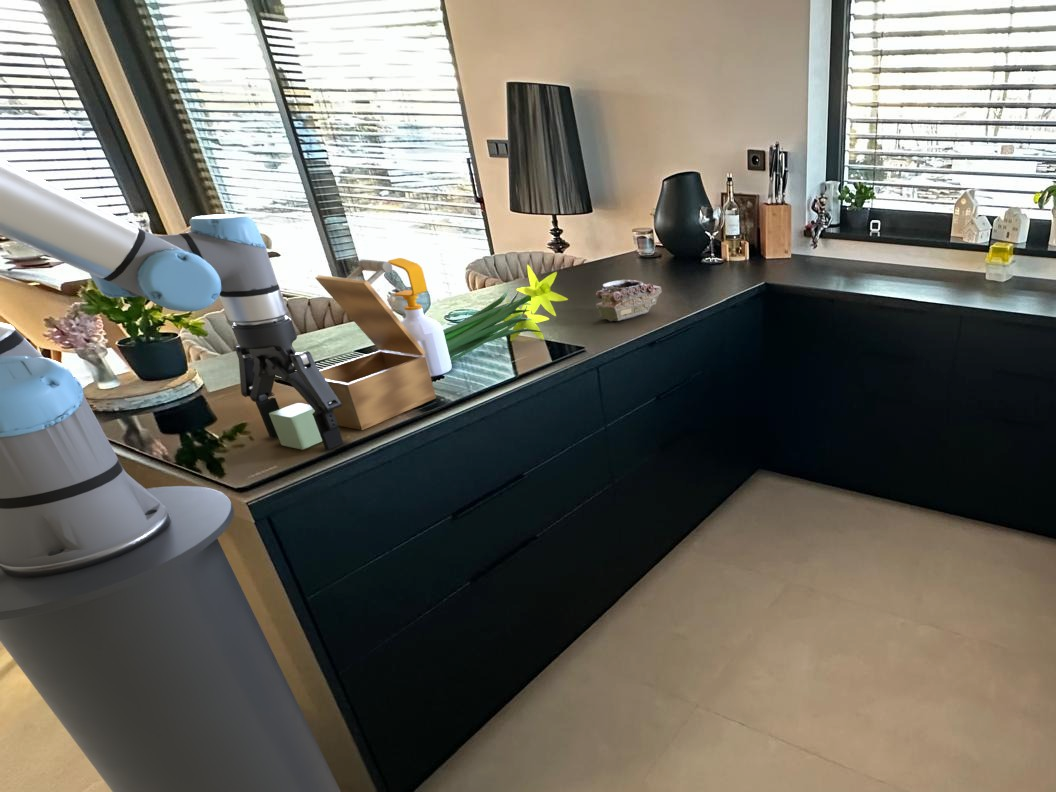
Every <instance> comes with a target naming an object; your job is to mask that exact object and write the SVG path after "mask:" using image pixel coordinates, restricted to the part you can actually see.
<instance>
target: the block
mask: <svg viewBox="0 0 1056 792" xmlns="http://www.w3.org/2000/svg"><path fill="white" fill-rule="evenodd" d="M314 412H315V410H314V409H313V408H312V407H311V406H310V405H309V404H308V403H304V402H303V403H302V402H297V403H294V404H290V405H288V406H285V407H282V408H279V410H277V411H274V412H271V413H269V415H270V418H271V420H272V423H273V425H274V428H275V430H276V433H277V435H278V436H277V437H278V440H279V442H280V443H279V444H280V445H281V446H283V447H288V448H294V449H298V450H302V451H303V450H305V449H308V448H310V447H313V446H315V445H317V444H320V443H323V441H322V438H321V436H320V433H319V430H318V428H317V425H316V422H315V419H314V417H313V415H312V414H313V413H314Z"/></svg>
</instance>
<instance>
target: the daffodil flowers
mask: <svg viewBox="0 0 1056 792" xmlns="http://www.w3.org/2000/svg"><path fill="white" fill-rule="evenodd" d="M526 267H527V269H526V270H527V277H528V281H529V285H530V286H522V287H518V288H516V291H517V292H515V295H514V296H513V298H512V299H511V300H508V299H507V300H506V303H505V304H502V303H503V302H504V301H505V299H506V297H507V296H508V293H509V290H510V289H509V288H508V289H507V290H506V291H505V292H504V293H503V295H501V296H500V297H499V298H498V299H496V300H495V301H493V302H492V303H490V304H488V305H487V306H485V307H484V308H482V309H481V310H479V311H477V312H475V313H473V314H472V315H470V316H469V317H467V318H465V319H463V320H462V321H460V322H458V323H456V324H453V325H451V326H448V327H446V328H443V332H444V336H445V340H446V344H447V348H448V352H449V356H450V360H451V363H452V362H453V361H455V360H457V359H459V358H461V357H463V356H465V355H467V354H468V353H470V352H473V351H474V350H476V349H477V348H479V347H481V346H483V345H484V344H487V343H490V342H493V341H495V340H499V339H501V338H504V337H508V336H510V337H509V342H513V341H514V340H515V339H516V338H517V337H518V336H519V335H520V334H521V333H523V332H531V333H532V334H533V335H535V336H536V337H538V338H540V339H541V340H545V337H544V334H543V331H542V330H541V329H540V327H539V326H538V325H537V324H538V323H543V322H545V321H549V320H550V318H549V317H548V316H545V315H542V314H536V312H537V311H538V309H539V307H540V306H542V307H543V309H544V310H545V311H546V312H547V313H549V314H550V315H552V316H554V317H557V314H556V311H555V309H554V306H553V305H552V302H565V301H568V300H569V298H567V297H566V296H564V295H562V294H560V293H557V292H555V291H553V290H551V287H552V285H553V284H554V282H555V279H556V277H557V274H558V271H555V272H552V273H551V274H548V276H546V277H545V278H543V279H542V280H540V281H539V279H538V277H537V275H536V274H535V272H534V270H533V269H532V267H531V266H530V265H529V264H528V263H527V264H526ZM519 293H521V294H522V295H521V296H520V298H519V299H517V300H516V298H517V296H518V294H519ZM523 294H524V295H526V296H524V295H523ZM501 304H502V305H501ZM520 306H521V308H520Z"/></svg>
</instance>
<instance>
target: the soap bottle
mask: <svg viewBox="0 0 1056 792" xmlns="http://www.w3.org/2000/svg"><path fill="white" fill-rule="evenodd" d="M387 262H389V263H390V264H391V265H392V266H394V267H397V268H399V269H401V270H403V271H405V272H406V274H407V277H408V281H409V284H410V288H411V289H404V290H401V291H397V292H394V297H402V299H403V300H404V301H406V305H404V306H403V308H404V313H405V318H404V319H402V320H400V322H401V323H402V324H403V325H404V327H405V328H406V329H407V330H408V331H409V333H410V334H411V335H412V336H413V338H414V339H415V340H416V341H417V342H418V344H419V345H420V346H421V347H422V349H423V350H424V351H425V352H426V354H425V355H424V356H423V357H426V361H427V365H428V369H429V372H430V376H431V378H432V377H438V376H442V375H444V374H446V373H449V372H450V371H451V370H452V367H453V365H452V362H451V360H450V359H451V357H450V356H449V352H448V348H447V344H446V340H445V336H444V332H443V330H444V328H443V325H442V324H441V323H440V321H438V320H437V319H434V318H432V317H430V316H427V315H425V313H424V309H423V306H422V304H420V303H417V299H419V297H418V295H421V294H424V293H426V292H427V291H428V285H427V281H426V279H425V274H424V271H423V267H421V265H420V264H418V263H417V262H414V261H410V260H408V259H405V258H403V257H397V258H393V259H389V260H388V261H387ZM399 353H402V352H399ZM403 354H408V353H403ZM410 355H415V354H410ZM416 356H422V355H416Z"/></svg>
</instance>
